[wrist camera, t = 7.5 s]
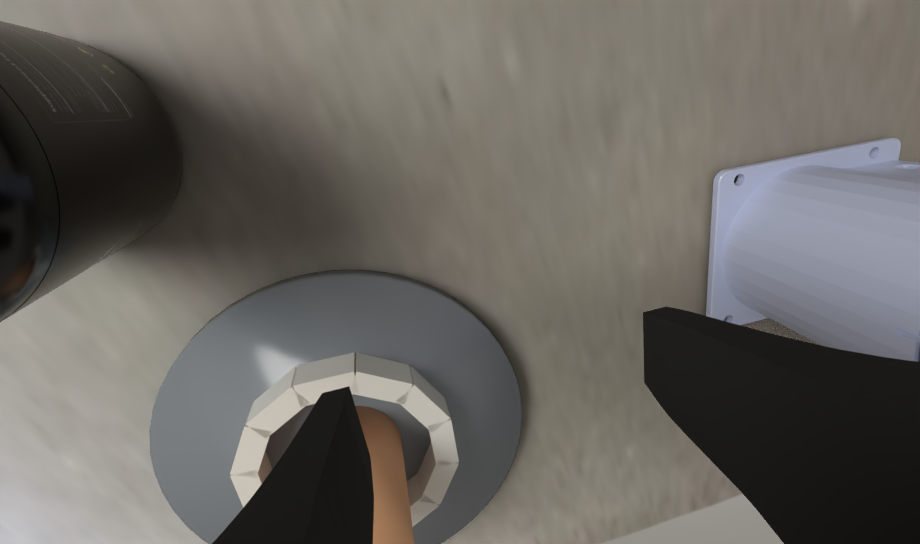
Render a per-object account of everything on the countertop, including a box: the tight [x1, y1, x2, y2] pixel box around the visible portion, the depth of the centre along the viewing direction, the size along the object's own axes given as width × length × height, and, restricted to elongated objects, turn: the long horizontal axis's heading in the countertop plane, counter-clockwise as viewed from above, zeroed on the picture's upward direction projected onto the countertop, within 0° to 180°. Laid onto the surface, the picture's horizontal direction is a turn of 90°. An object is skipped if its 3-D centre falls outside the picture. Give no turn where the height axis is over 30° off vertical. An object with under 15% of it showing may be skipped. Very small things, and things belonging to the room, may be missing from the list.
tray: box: [150, 270, 522, 544], centre depth 20 cm, size 16×16×2 cm
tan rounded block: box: [355, 406, 415, 544], centre depth 18 cm, size 4×4×6 cm
